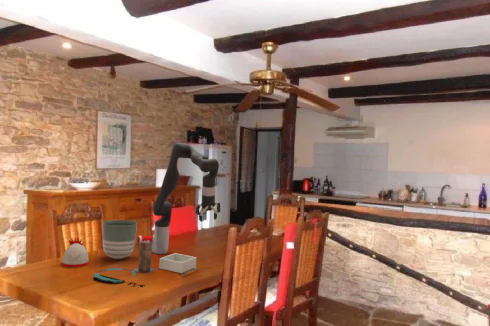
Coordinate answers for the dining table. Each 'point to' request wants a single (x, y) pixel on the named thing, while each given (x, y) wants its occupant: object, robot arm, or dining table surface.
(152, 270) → the stud plate
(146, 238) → the toy hammer
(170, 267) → the bin
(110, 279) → the cutlery set
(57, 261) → the dining table surface
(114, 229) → the planter
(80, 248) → the kitchen timer
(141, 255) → the strut
